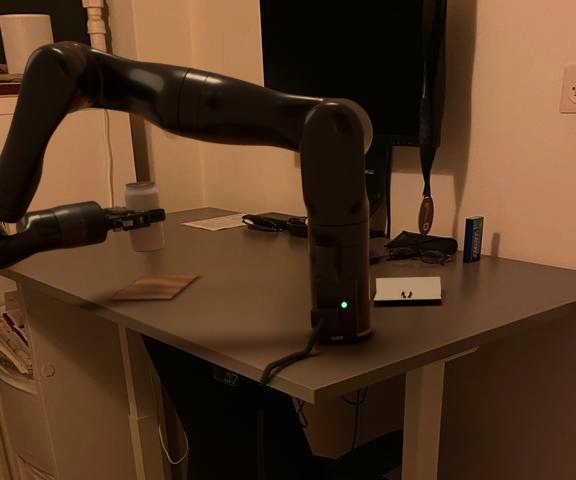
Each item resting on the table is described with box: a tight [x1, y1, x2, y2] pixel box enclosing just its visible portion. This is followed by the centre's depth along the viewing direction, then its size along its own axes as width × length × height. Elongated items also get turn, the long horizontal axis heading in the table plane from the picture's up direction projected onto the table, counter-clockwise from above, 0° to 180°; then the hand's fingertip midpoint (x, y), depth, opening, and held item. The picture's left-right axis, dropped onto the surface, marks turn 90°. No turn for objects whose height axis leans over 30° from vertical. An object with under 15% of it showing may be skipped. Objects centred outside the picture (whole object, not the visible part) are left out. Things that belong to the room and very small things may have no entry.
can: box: [123, 181, 166, 253], centre depth 152 cm, size 6×6×12 cm
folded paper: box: [373, 276, 442, 301], centre depth 143 cm, size 12×12×2 cm
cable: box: [369, 248, 420, 264], centre depth 169 cm, size 14×28×2 cm, turn 126°
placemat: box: [111, 274, 199, 302], centre depth 160 cm, size 18×12×1 cm, turn 169°
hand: (154, 212), depth 153 cm, fingers closed on can, 6 cm apart
